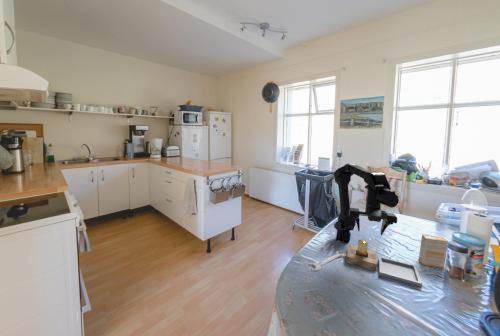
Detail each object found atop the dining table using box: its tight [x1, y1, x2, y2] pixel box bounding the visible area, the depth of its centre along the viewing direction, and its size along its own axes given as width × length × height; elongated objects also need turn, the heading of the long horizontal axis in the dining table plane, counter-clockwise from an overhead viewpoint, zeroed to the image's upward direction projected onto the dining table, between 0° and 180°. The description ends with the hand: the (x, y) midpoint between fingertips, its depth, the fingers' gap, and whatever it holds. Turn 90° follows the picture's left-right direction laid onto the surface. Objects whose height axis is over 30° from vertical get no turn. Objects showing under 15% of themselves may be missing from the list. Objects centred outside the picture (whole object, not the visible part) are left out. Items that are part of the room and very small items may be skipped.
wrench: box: [308, 250, 347, 272], centre depth 101 cm, size 25×2×5 cm
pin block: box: [345, 244, 378, 271], centre depth 102 cm, size 12×12×3 cm
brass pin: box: [357, 239, 369, 258], centre depth 102 cm, size 4×4×9 cm
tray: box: [377, 255, 423, 289], centre depth 93 cm, size 14×14×2 cm
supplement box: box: [418, 233, 449, 269], centre depth 100 cm, size 8×5×13 cm, turn 71°
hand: (369, 232), depth 101 cm, fingers open, 9 cm apart
